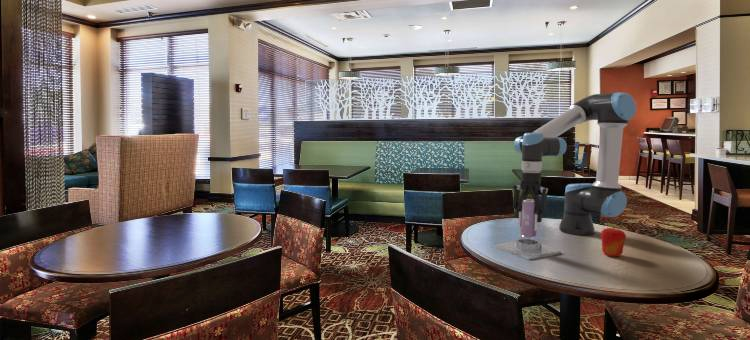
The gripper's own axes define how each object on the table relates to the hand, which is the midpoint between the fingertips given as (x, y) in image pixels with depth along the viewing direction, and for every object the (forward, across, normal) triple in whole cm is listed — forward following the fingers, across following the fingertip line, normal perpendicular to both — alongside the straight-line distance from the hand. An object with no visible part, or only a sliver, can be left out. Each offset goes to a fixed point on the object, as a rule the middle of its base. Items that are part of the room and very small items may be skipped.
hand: (528, 228), depth 167 cm
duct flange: (+9, 0, 0) cm, 9 cm away
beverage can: (+4, 0, 0) cm, 4 cm away
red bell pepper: (+9, +26, +18) cm, 33 cm away
